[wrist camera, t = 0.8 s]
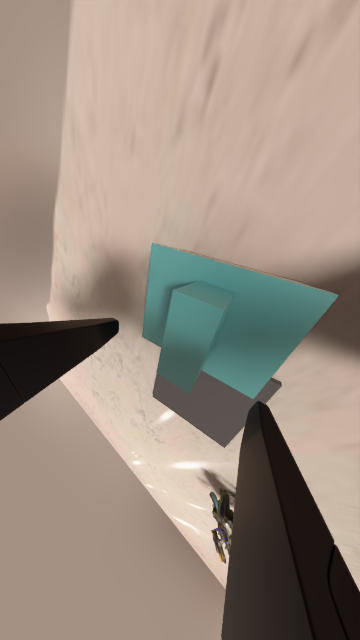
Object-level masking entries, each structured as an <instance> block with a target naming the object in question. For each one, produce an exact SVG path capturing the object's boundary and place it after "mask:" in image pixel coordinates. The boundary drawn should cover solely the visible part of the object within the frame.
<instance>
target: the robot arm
mask: <svg viewBox="0 0 360 640" xmlns="http://www.w3.org/2000/svg"><path fill="white" fill-rule="evenodd" d="M118 331H119V322H118V320H116V319H114V318H102V319H85V320H68V321H51V322H33V323H8V324H0V420H2V419H3V418H5V417H6V416H7V415H9V414H10V413H11V412H13V411H14V410H16V409H17V408H18V407H20V406H21V405H23V404H24V403H25V402H26V401H28V400H29V399H31V398H32V397H34V396H35V395H36V394H38V393H39V392H40V391H42V390H43V389H45V388H46V387H47V386H49V385H50V384H51V383H53V382H54V381H56V380H57V379H58V378H60V377H61V376H63V375H64V374H65V373H67V372H68V371H70V370H71V369H72V368H74V367H75V366H77V365H78V364H79V363H81V362H82V361H83V360H85V359H86V358H88V357H89V356H90V355H92V354H93V353H95V352H96V351H97V350H99V349H100V348H101V347H102V346H103V345H105V344H106V343H107V342H108V341H109V340H110V339H112V338H113V337H114V336H115V335H116V334H117V333H118ZM221 637H222V640H360V591H359V589H358V587H357V585H356V583H355V581H354V579H353V577H352V575H351V573H350V571H349V569H348V567H347V565H346V563H345V561H344V559H343V557H342V555H341V553H340V551H339V549H338V547H337V546H336V545H335V544H334V539H333V537H332V535H331V533H330V531H329V529H328V527H327V525H326V523H325V521H324V519H323V517H322V515H321V513H320V511H319V508H318V506H317V504H316V502H315V500H314V498H313V496H312V494H311V492H310V490H309V488H308V486H307V484H306V482H305V480H304V478H303V476H302V474H301V472H300V470H299V468H298V466H297V464H296V462H295V460H294V458H293V456H292V454H291V451H290V449H289V447H288V445H287V443H286V441H285V439H284V437H283V435H282V433H281V431H280V429H279V427H278V425H277V423H276V421H275V419H274V417H273V415H272V413H271V411H270V409H269V407H268V406H267V405H266V404H264V403H263V402H261V401H257V402H256V403H255V404H254V405H253V406H252V407H251V408H250V410H249V412H248V415H247V419H246V424H245V429H244V433H243V438H242V443H241V448H240V456H239V466H238V476H237V486H236V495H235V505H234V515H233V525H232V535H231V545H230V555H229V565H228V575H227V584H226V595H225V605H224V615H223V624H222V634H221Z"/></svg>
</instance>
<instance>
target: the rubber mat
mask: <svg viewBox="0 0 360 640" xmlns="http://www.w3.org/2000/svg"><path fill="white" fill-rule="evenodd" d="M281 386H282V385H281V382H279V381H277V380H275V379H273V378H270V380H269V381H268V382H267V383H266V384H265V386H264V387H263V388H262V389H261V390H260V392H259V393H258V394H257V395H256V397H255V398H254V399H252V398H250V397H248V396H247V395H245V394H243V393H241V392H239V391H238V390H236V389H234V388H232V387H231V386H229V385H227V384H225V383H223V382H222V381H220V380H218V379H216V378H215V377H213V376H211V375H209V374H208V373H206V372H204V371H201V373H200V375H199V377H198V378H197V380H196V382H195V384H194V386H193V388H192V390H191V392H190V394H189V393H187V392H186V391H184V390H183V389H181V388H179V387H178V386H176V385H175V384H173V383H172V382H170V381H169V380H167V379H165V378H164V377H162V376H161V375H159V374H158V373H157V377H156V382H155V387H154V392H153V397H154V398H156V399H157V400H158V401H160V402H161V403H163V404H164V405H165V406H167V407H168V408H170V409H171V410H172V411H174V412H175V413H177V414H178V415H179V416H181V417H182V418H184V419H185V420H186V421H188V422H189V423H190V424H192V425H193V426H195V427H196V428H197V429H199V430H200V431H202V432H203V433H204V434H206V435H207V436H209V437H210V438H211V439H213V440H214V441H216V442H217V443H218V444H220V445H221V446H222V447H224V448H225V447H226V446H227V445H228V443H229V442H230V441H231V440H232V439H233V438H234V437H235V436H236V435H237V434H238V433H239V432H240V431H241V429H242V428H243V427H244V426H245V424H246V419H247V415H248V412H249V410H250V408H251V407H252V406H253V405H254V404H255V403H256V402H257V401H261V402H263V403H264V404H266V402H267V401H268V400H269V399H270V398H271V397H272V396H273V395H274V394H275V393H276V392H277V391H278V389H279V388H280V387H281Z"/></svg>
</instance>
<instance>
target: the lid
mask: <svg viewBox="0 0 360 640" xmlns="http://www.w3.org/2000/svg"><path fill="white" fill-rule="evenodd" d="M338 296H339V295H337V294H334V293H332V292H330V291H326V290H323V289H319V288H315V287H312V286H308V285H305V284H301V283H297V282H294V281H290V280H287V279H283V278H279V277H276V276H272V275H269V274H265V273H261V272H258V271H254V270H251V269H247V268H243V267H240V266H236V265H233V264H229V263H225V262H222V261H218V260H215V259H211V258H207V257H204V256H200V255H196V254H193V253H189V252H186V251H182V250H178V249H175V248H171V247H168V246H164V245H160V244H155V243H152V246H151V256H150V266H149V275H148V285H147V295H146V305H145V315H144V324H143V334H142V337H144V338H146V339H147V340H149V341H151V342H153V343H154V344H156V345H158V346H160V347H161V353H160V358H159V363H158V368H157V373H158V374H159V375H161V376H162V377H164V378H165V379H167V380H169V381H170V382H172V383H173V384H175V385H176V386H178V387H179V388H181V389H183V390H184V391H186V392H187V393H189V394H190V392H191V390H192V388H193V386H194V384H195V382H196V380H197V378H198V377H199V375H200V373H201V371H204V372H206V373H208V374H209V375H211V376H213V377H215V378H216V379H218V380H220V381H222V382H223V383H225V384H227V385H229V386H231V387H232V388H234V389H236V390H238V391H239V392H241V393H243V394H245V395H247V396H248V397H250V398H252V399H254V398H255V397H256V395H257V394H258V393H259V392H260V390H261V389H262V388H263V387H264V386H265V384H266V383H267V382H268V381H269V380H270V378H271V377H272V376H273V375H274V374H275V372H276V371H277V370H278V369H279V367H280V366H281V365H282V364H283V363H284V361H285V360H286V359H287V358H288V357H289V355H290V354H291V353H292V352H293V351H294V349H295V348H296V347H297V346H298V344H299V343H300V342H301V341H302V340H303V338H304V337H305V336H306V335H307V334H308V332H309V331H310V330H311V329H312V328H313V326H314V325H315V324H316V323H317V321H318V320H319V319H320V318H321V317H322V315H323V314H324V313H325V312H326V311H327V309H328V308H329V307H330V306H331V305H332V303H333V302H334V301H335V300H336V298H337V297H338Z"/></svg>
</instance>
